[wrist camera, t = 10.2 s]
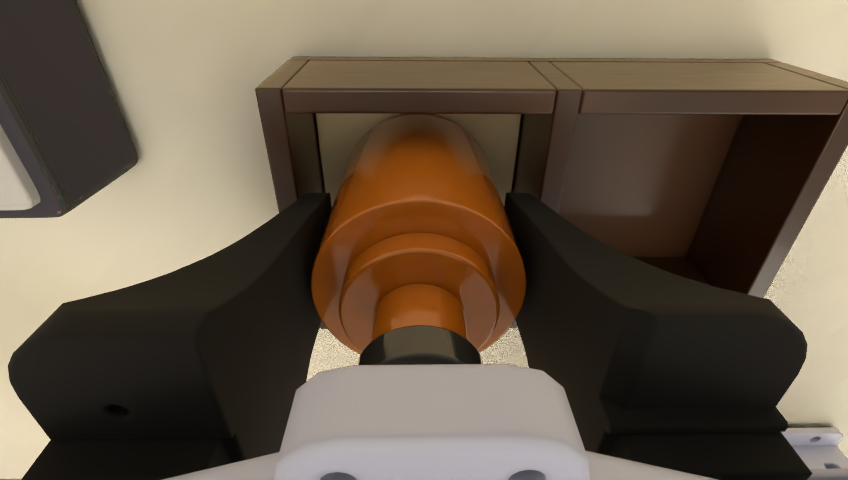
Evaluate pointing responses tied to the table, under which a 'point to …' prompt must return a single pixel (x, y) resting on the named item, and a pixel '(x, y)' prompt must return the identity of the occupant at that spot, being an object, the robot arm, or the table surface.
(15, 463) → the table surface
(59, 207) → the calculator
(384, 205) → the amber bottle
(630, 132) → the holder
